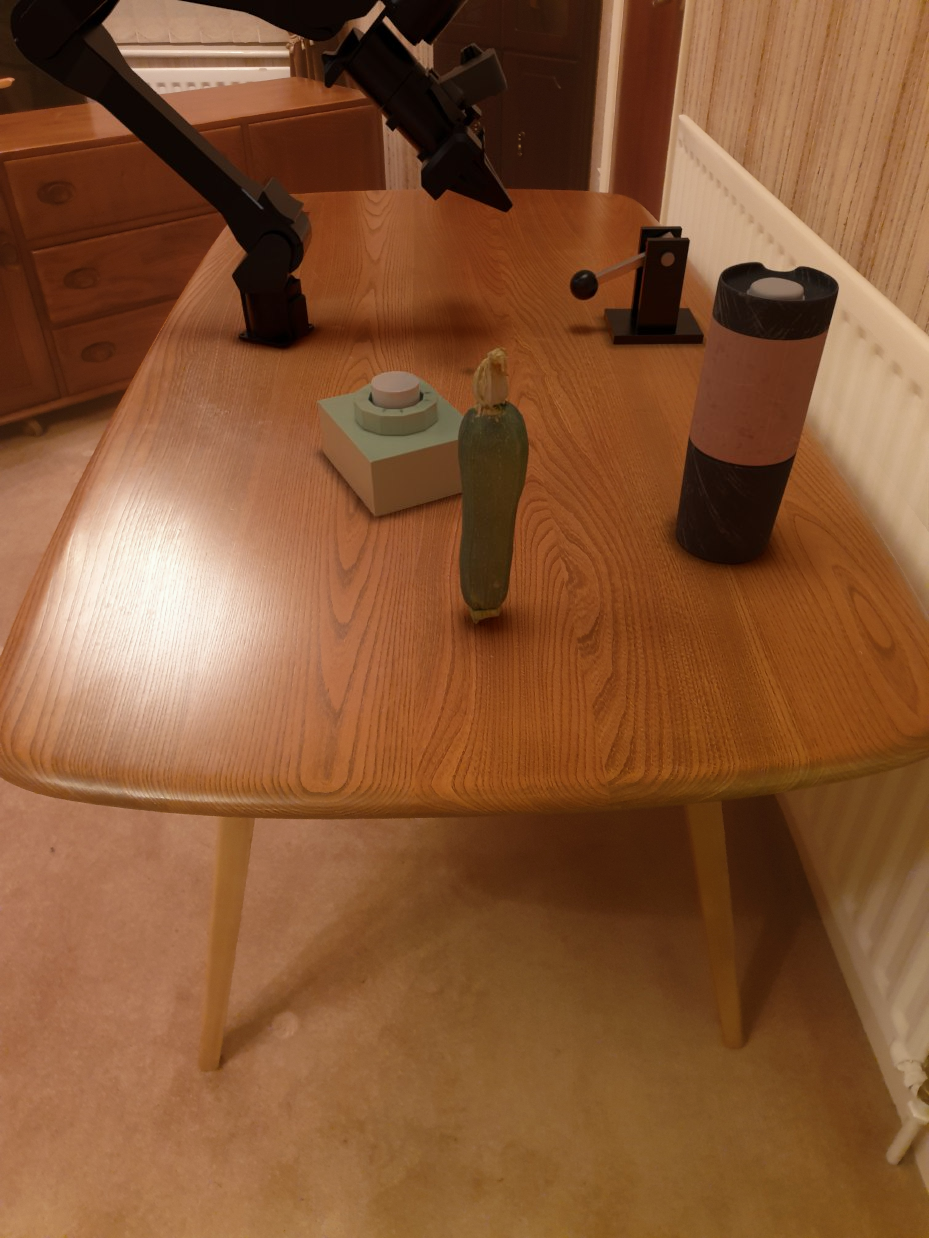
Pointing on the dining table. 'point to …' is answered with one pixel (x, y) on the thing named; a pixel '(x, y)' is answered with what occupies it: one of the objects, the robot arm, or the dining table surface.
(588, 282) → the lever
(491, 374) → the vegetable
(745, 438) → the travel mug
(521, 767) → the dining table surface
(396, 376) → the pink push button
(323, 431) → the push button box
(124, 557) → the dining table surface
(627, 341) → the bracket
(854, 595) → the dining table surface
